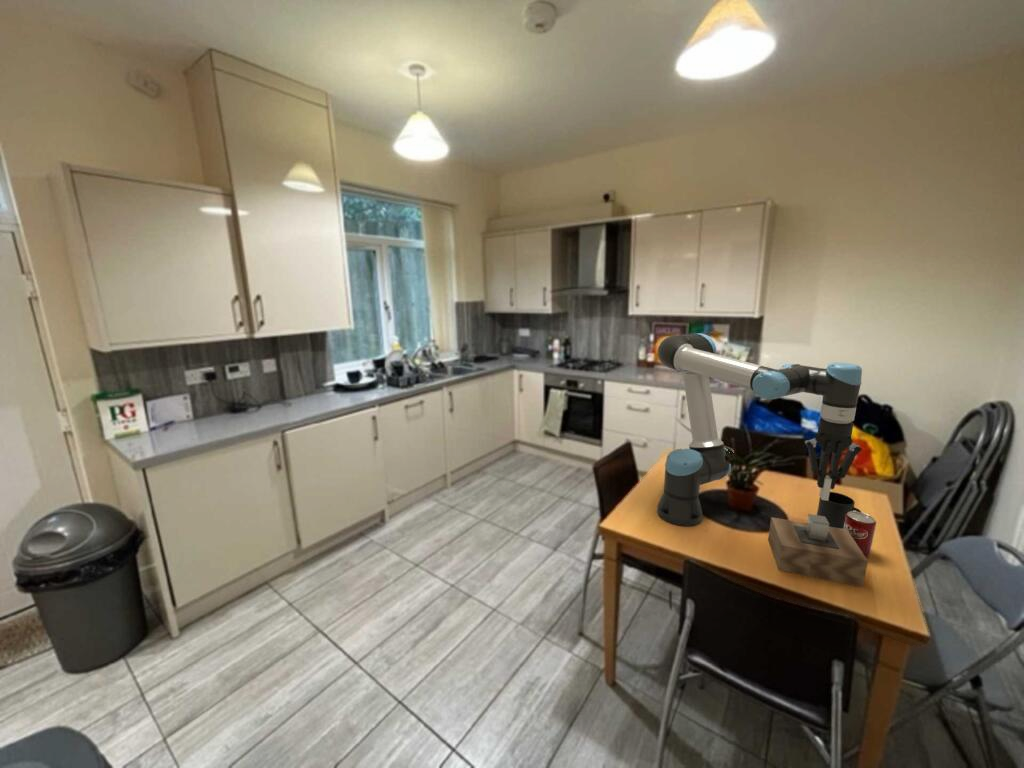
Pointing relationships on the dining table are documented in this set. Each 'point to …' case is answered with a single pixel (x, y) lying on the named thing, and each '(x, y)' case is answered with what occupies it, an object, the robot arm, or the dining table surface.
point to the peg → (817, 528)
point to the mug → (836, 509)
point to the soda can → (861, 529)
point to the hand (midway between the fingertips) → (823, 498)
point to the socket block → (817, 553)
